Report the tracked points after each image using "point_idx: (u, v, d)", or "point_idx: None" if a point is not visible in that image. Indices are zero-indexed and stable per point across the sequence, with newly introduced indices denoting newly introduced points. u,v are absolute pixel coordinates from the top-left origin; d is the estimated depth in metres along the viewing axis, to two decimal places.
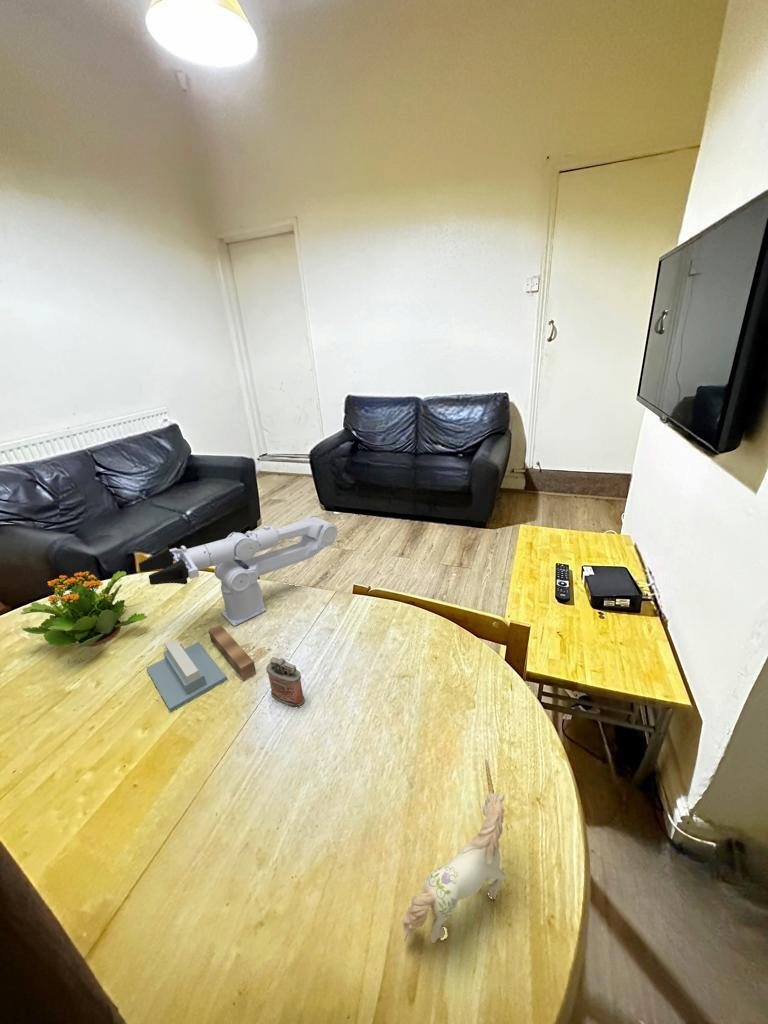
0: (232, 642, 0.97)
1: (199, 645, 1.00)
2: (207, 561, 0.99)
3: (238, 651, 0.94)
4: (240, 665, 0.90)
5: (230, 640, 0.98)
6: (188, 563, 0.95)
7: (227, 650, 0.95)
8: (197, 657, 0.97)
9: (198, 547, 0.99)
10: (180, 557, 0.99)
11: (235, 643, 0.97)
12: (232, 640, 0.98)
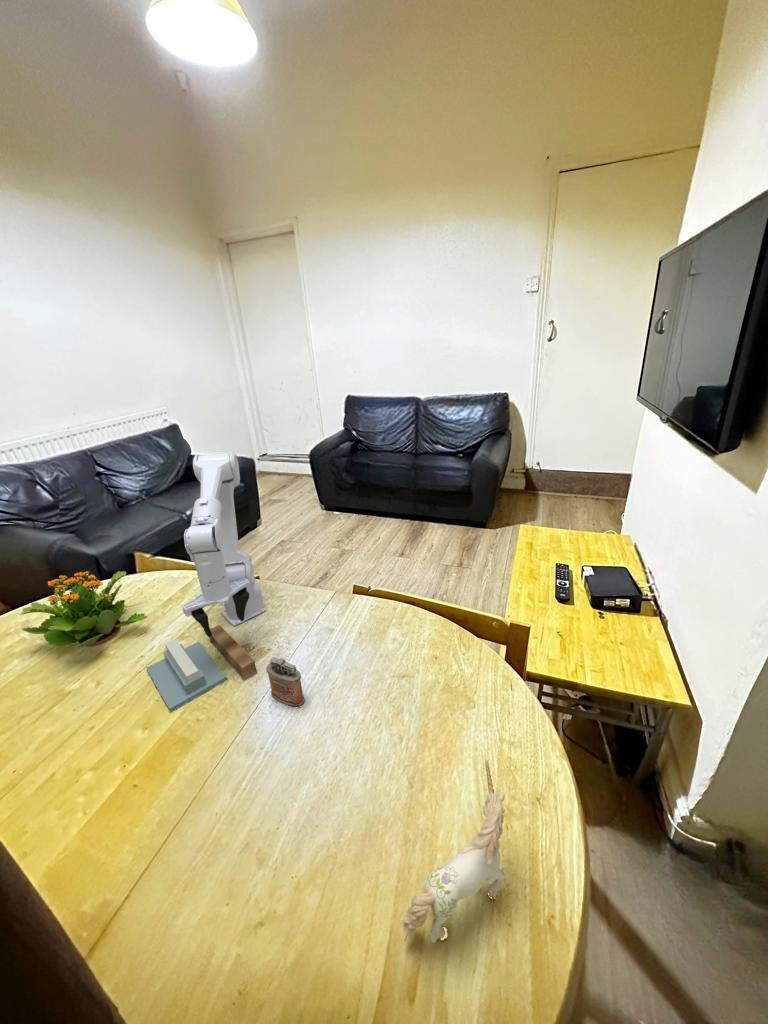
0: (232, 642, 0.97)
1: (199, 645, 1.00)
2: None
3: (238, 651, 0.94)
4: (241, 665, 0.90)
5: (230, 640, 0.98)
6: None
7: (227, 650, 0.95)
8: (197, 657, 0.97)
9: (220, 586, 0.87)
10: None
11: (235, 643, 0.97)
12: (232, 640, 0.98)
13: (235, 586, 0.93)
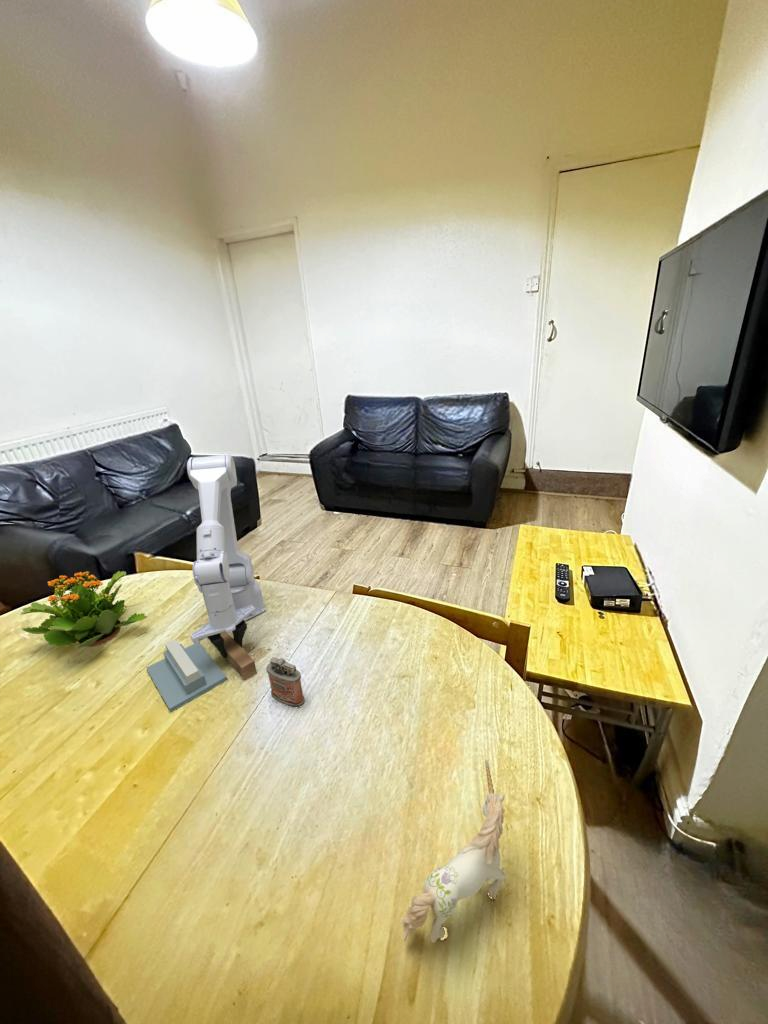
0: (232, 642, 0.97)
1: (199, 645, 1.00)
2: None
3: (238, 651, 0.94)
4: (241, 664, 0.90)
5: (230, 640, 0.98)
6: None
7: (227, 650, 0.95)
8: (197, 657, 0.97)
9: (227, 615, 0.91)
10: None
11: (235, 643, 0.97)
12: (232, 640, 0.98)
13: (241, 613, 0.96)
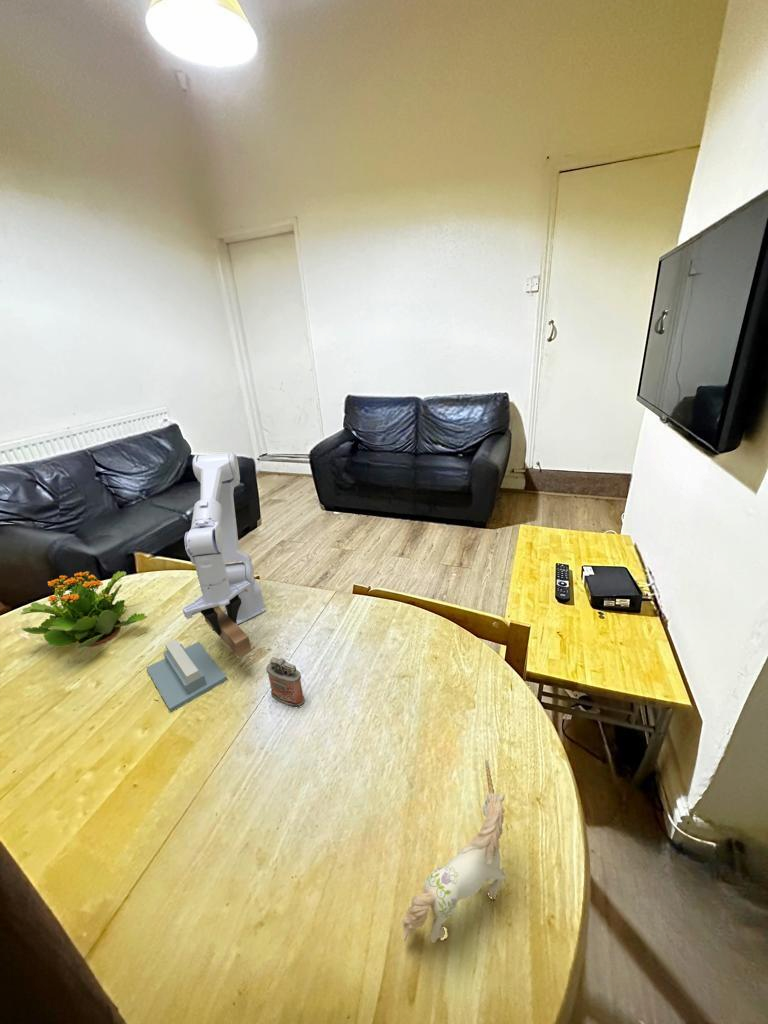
0: (226, 619, 0.94)
1: (199, 645, 1.00)
2: None
3: (232, 627, 0.91)
4: (234, 640, 0.87)
5: (225, 617, 0.95)
6: None
7: (221, 626, 0.92)
8: (197, 657, 0.97)
9: (220, 588, 0.88)
10: None
11: (229, 619, 0.94)
12: (226, 617, 0.95)
13: (235, 588, 0.93)
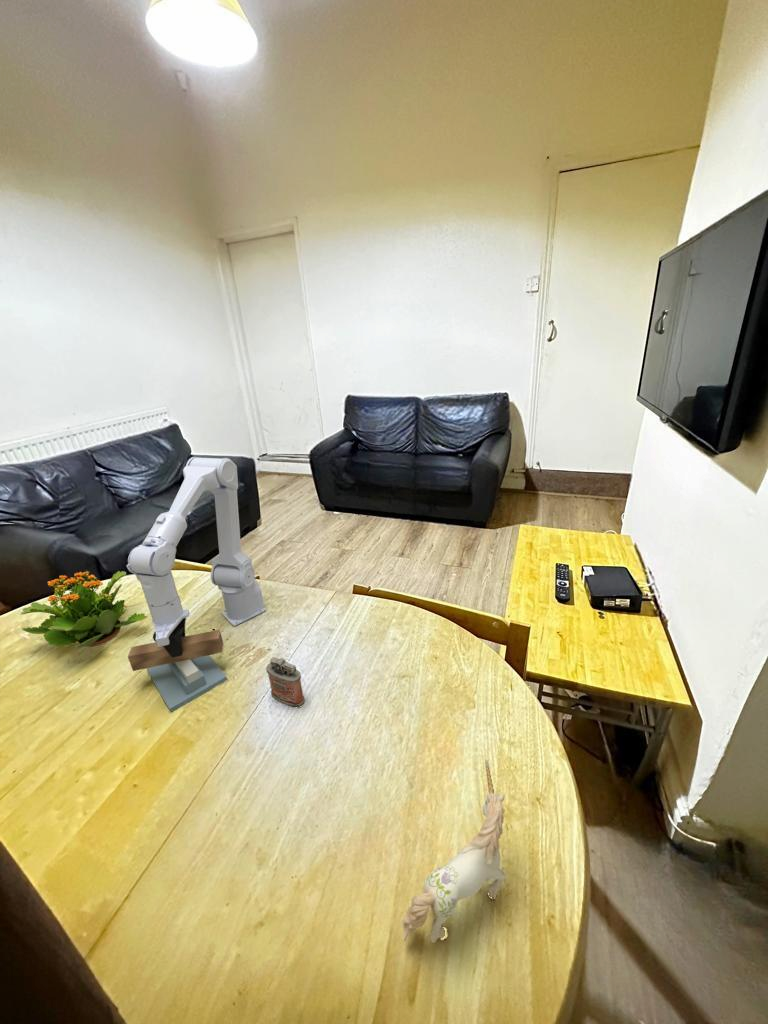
0: None
1: None
2: None
3: (194, 637, 0.90)
4: (214, 638, 0.90)
5: None
6: None
7: (182, 644, 0.88)
8: None
9: (179, 600, 0.86)
10: None
11: None
12: None
13: None
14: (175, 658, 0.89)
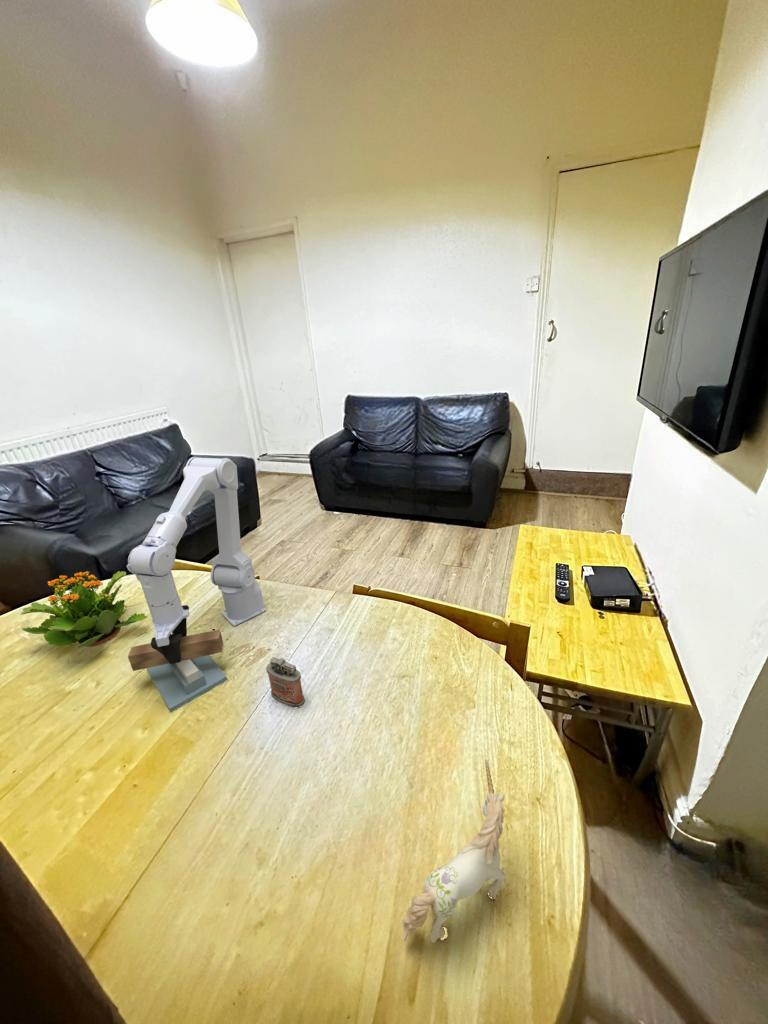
0: None
1: None
2: None
3: (194, 637, 0.90)
4: (214, 637, 0.90)
5: None
6: None
7: (182, 644, 0.88)
8: None
9: (179, 601, 0.86)
10: None
11: None
12: None
13: None
14: None
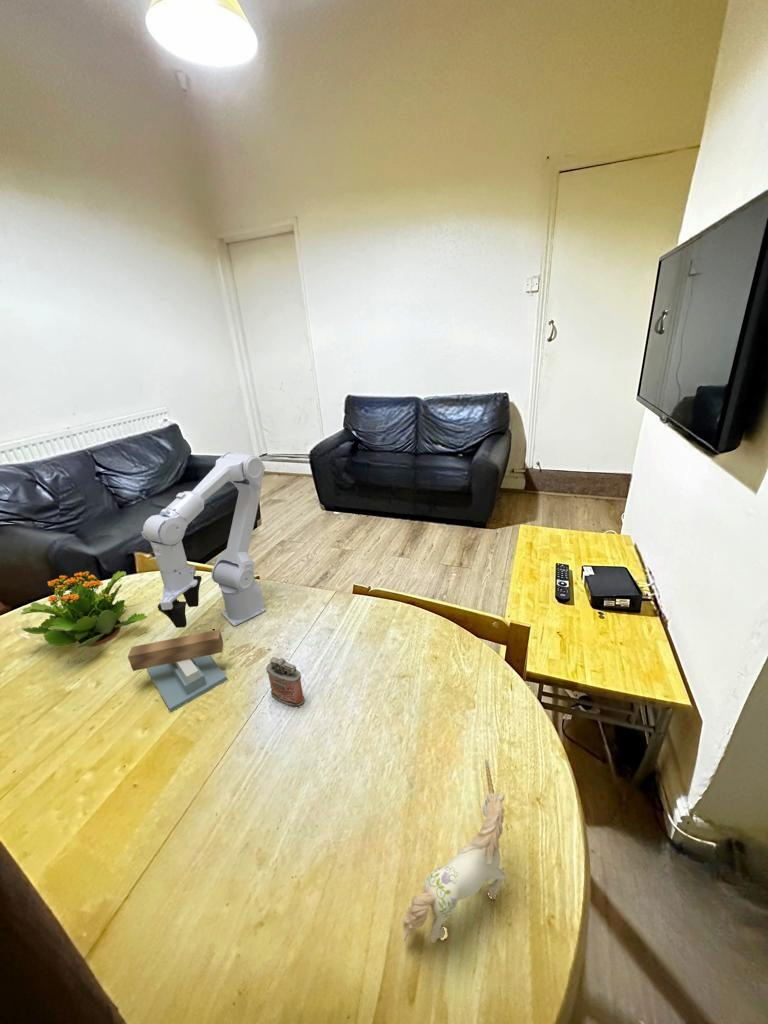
0: (175, 640, 0.90)
1: None
2: None
3: (194, 637, 0.90)
4: (214, 637, 0.90)
5: (170, 641, 0.90)
6: None
7: (182, 644, 0.88)
8: None
9: (188, 570, 0.92)
10: None
11: (179, 638, 0.90)
12: (172, 640, 0.90)
13: None
14: (175, 658, 0.89)
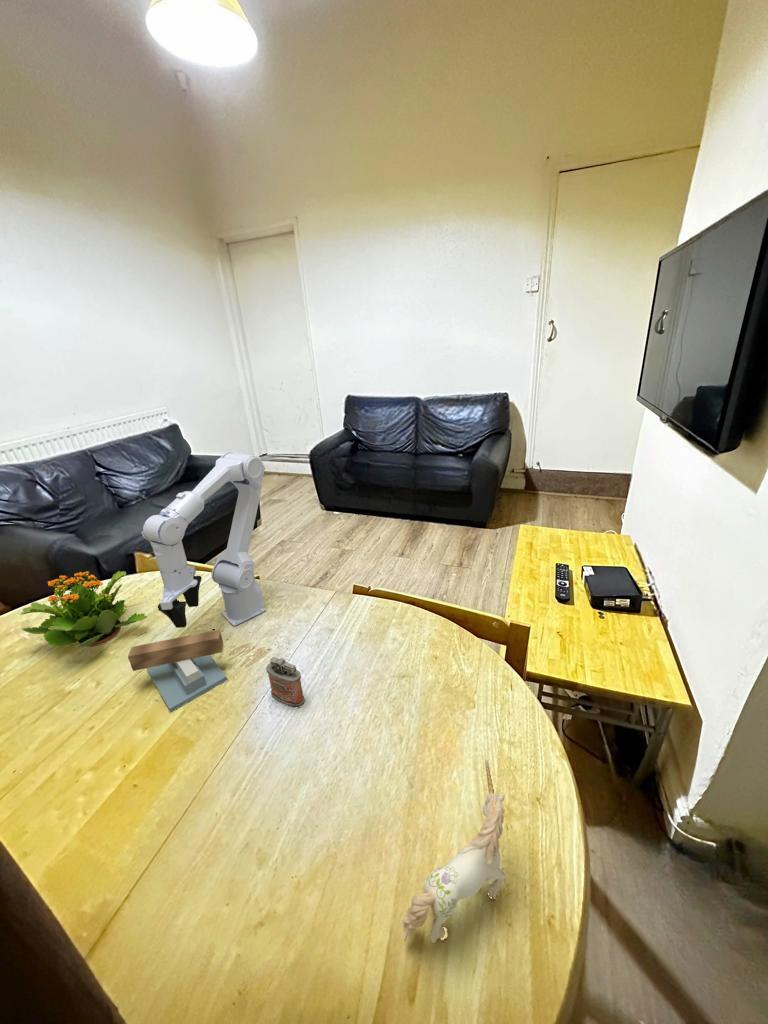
0: (175, 640, 0.90)
1: None
2: None
3: (194, 637, 0.90)
4: (214, 637, 0.90)
5: (170, 641, 0.90)
6: None
7: (182, 644, 0.88)
8: None
9: (188, 570, 0.92)
10: None
11: (179, 638, 0.90)
12: (172, 640, 0.90)
13: None
14: (175, 658, 0.89)
